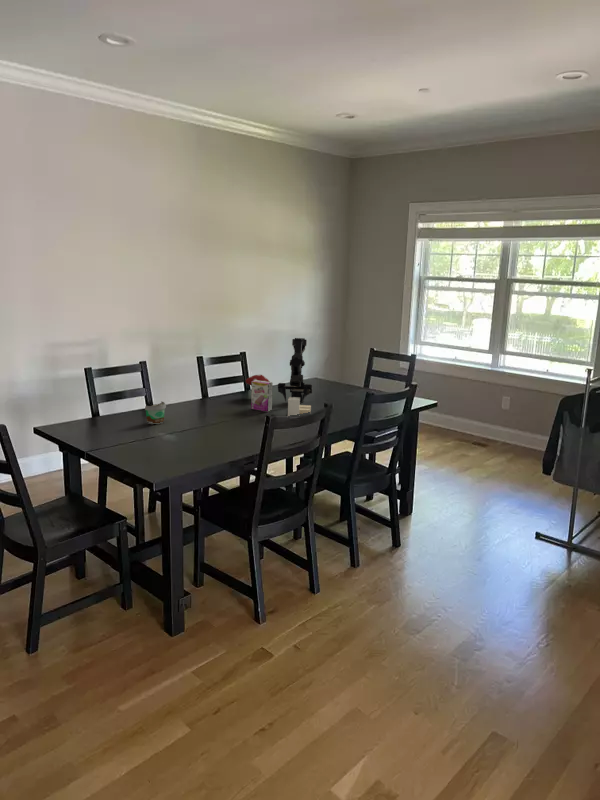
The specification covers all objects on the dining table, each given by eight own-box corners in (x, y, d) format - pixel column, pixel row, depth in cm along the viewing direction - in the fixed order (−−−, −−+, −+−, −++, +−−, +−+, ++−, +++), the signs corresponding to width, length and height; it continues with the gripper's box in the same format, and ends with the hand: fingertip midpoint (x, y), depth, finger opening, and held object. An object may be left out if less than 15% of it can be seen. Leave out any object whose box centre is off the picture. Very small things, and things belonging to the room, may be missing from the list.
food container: (154, 427, 310) (153, 407, 307) (145, 425, 313) (144, 405, 311) (171, 421, 320) (171, 402, 318) (162, 419, 323) (162, 401, 321)
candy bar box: (250, 409, 348) (250, 381, 344) (254, 407, 352) (255, 379, 348) (268, 412, 343) (268, 383, 339) (272, 410, 348) (272, 381, 344)
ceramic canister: (287, 417, 334) (288, 399, 332) (288, 414, 340) (288, 396, 338) (298, 418, 334) (299, 400, 332) (299, 415, 340) (300, 397, 337)
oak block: (291, 409, 352) (291, 404, 352) (310, 410, 352) (310, 405, 351) (289, 414, 342) (289, 409, 341) (309, 415, 341) (309, 410, 340)
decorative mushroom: (259, 394, 383) (259, 370, 379) (277, 399, 372) (277, 375, 369) (239, 398, 372) (239, 374, 368) (257, 403, 361) (257, 378, 358)
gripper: (278, 368, 337) (276, 392, 329) (312, 369, 337) (311, 394, 328) (279, 379, 347) (277, 403, 339) (312, 381, 346) (311, 405, 338)
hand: (294, 401), depth 336 cm, fingers open, 9 cm apart
